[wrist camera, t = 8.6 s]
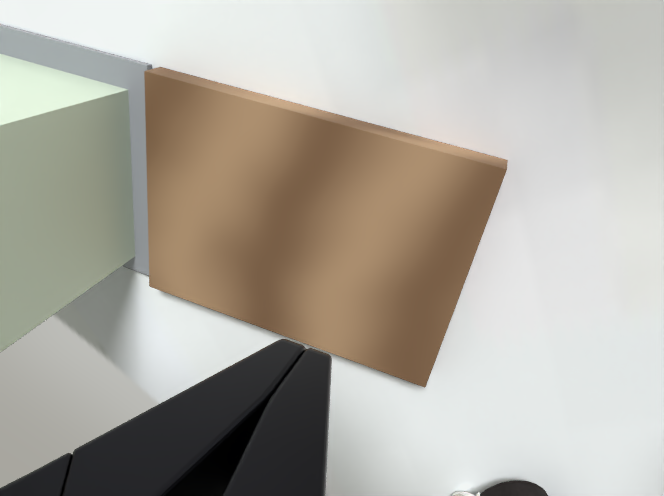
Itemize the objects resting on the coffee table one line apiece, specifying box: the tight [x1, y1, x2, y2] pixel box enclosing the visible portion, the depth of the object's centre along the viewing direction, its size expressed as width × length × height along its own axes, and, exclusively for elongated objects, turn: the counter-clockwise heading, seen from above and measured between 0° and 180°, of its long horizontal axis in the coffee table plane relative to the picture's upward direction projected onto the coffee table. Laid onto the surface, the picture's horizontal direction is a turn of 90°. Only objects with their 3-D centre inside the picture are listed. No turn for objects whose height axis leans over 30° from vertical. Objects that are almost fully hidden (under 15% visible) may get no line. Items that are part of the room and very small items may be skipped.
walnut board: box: [144, 67, 507, 387], centre depth 20 cm, size 14×10×1 cm
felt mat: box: [0, 24, 152, 275], centre depth 23 cm, size 10×10×1 cm
